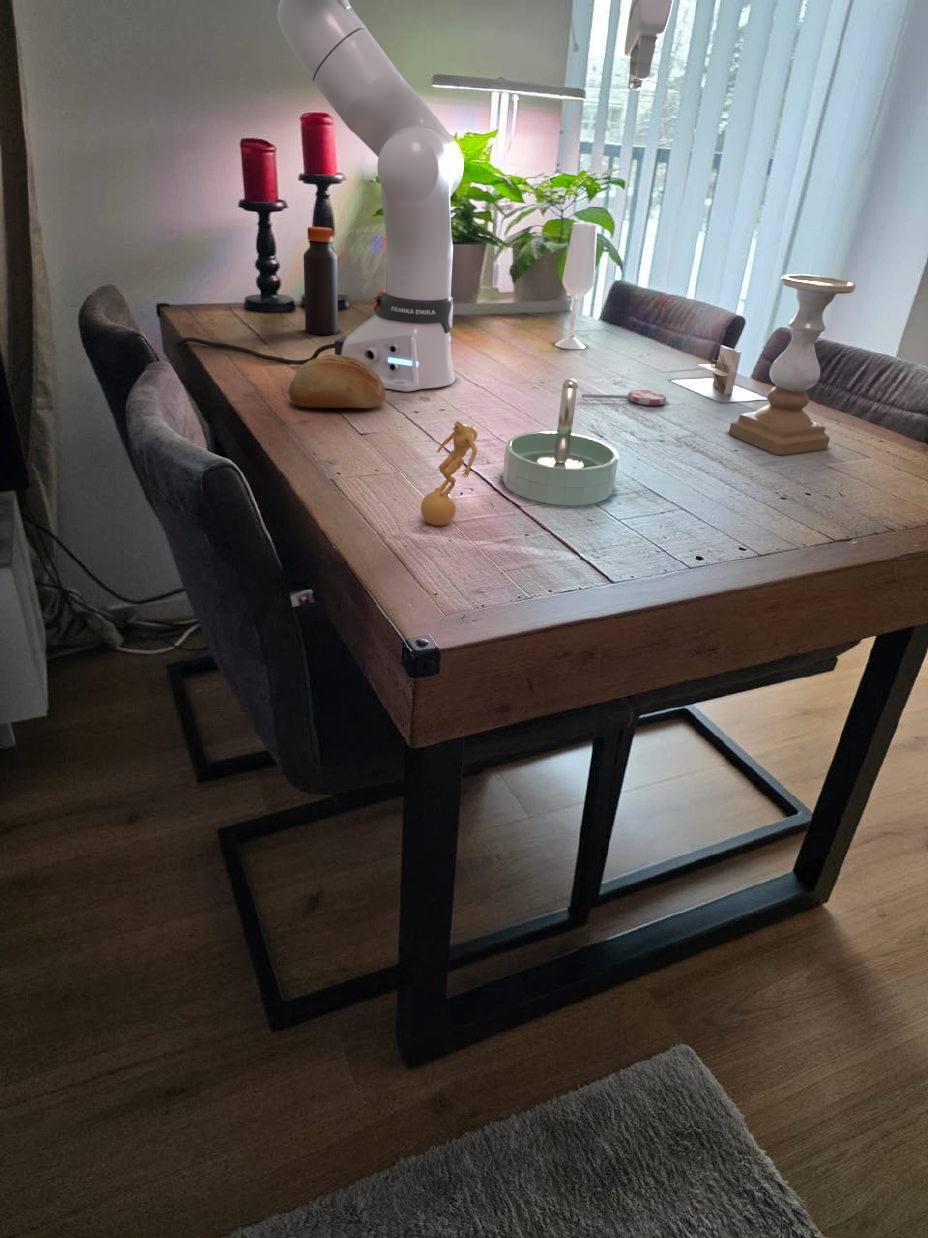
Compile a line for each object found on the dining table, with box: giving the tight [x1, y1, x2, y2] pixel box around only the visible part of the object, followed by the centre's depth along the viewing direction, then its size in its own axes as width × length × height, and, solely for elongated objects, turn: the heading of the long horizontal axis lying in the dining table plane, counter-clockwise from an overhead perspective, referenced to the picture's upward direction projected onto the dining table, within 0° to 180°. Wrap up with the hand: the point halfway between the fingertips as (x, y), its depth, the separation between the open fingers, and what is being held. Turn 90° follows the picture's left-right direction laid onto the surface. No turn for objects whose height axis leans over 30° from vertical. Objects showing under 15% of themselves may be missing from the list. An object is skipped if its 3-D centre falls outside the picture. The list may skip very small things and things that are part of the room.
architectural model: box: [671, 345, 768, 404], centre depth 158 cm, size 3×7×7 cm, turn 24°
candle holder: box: [728, 274, 857, 456], centre depth 128 cm, size 11×11×24 cm
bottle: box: [303, 226, 339, 336], centre depth 175 cm, size 7×7×20 cm
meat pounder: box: [537, 378, 584, 468], centre depth 107 cm, size 6×6×14 cm
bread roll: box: [288, 354, 386, 409], centre depth 132 cm, size 10×15×8 cm, turn 97°
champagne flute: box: [554, 222, 598, 350], centre depth 178 cm, size 7×7×24 cm
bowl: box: [502, 431, 619, 507], centre depth 110 cm, size 14×14×5 cm
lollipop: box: [581, 389, 667, 406], centre depth 148 cm, size 7×1×15 cm
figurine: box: [420, 420, 478, 527], centre depth 95 cm, size 8×6×12 cm
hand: (637, 84), depth 122 cm, fingers open, 8 cm apart
